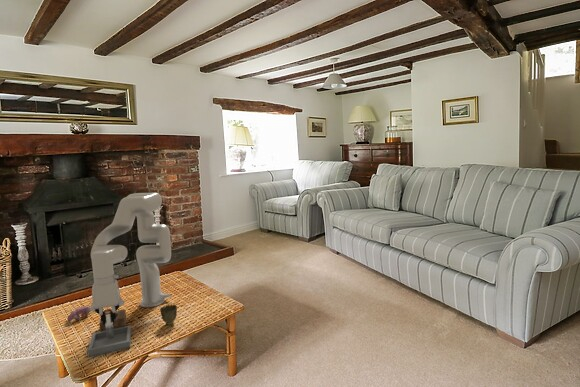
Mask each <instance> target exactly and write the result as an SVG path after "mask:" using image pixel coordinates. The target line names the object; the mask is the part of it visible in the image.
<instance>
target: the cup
mask: <svg viewBox="0 0 580 387" xmlns="http://www.w3.org/2000/svg"><path fill="white" fill-rule="evenodd" d="M159 311H160V316H161V318H162V319H161V320H162V321H163V322H164V323H165V325H166V326H171V325H174V323H175V320H176V318H177V315H178V314H177V312H178V306H177V305H175V304H166V305H163V307H160V309H159Z"/></svg>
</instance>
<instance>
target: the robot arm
mask: <svg viewBox="0 0 580 387" xmlns="http://www.w3.org/2000/svg"><path fill="white" fill-rule="evenodd" d="M162 203H163V198H162V196H161V195H160V193H158V192H137V193H130V194H128V195H127V196H126V197H123V198H122V199H121V200H120V201H119V204H118V206H117V210H116V213H115V215H114V218H113V220H112V221H111V224H109V225H108V226H106V227H105V228H104V229H103V230H101V232H100V233H99V234H98V235H97V236H96V238H95V240H94V242H93V244H92V246H91V249H90V250H91V251H90V259H91V266H92V274H93V284H92V288H91V300H92V301H91V302H92V303H91V304H90V306H89V307H90V309H89V310H90V312H94V313H97V315H98V316H100V319H101V322H103V324H105V316H104V308H108V307H111V309H112V313H111V316H112V322H114V320H115V319H116V311H118V310H119V308H121V307H122V306H124V305H125V300H123V299H122V297H121V292H120V286H119V282H118V280H117V279H119V275H118V274H115V271H114V270H115V268H114V265H115V264H118V263H122V262H123V261H125V259H126V258H127V257H128V248H127V247H126V246H124V245H123V244H109V242H111V241H112V240H113V239H115V238H117V237H119V236H121V235H124V234H126V233H127V232H129V231H131V230H132V229H133V225H134V222H135V219H136V221H137V237H138V240H139V242H140V243H145V245H141V246H140V247H138V248H137V249H136V251H135V258H136V261H137V263H138V267H139V268H138V270H139V277H140V288H141V297H142V300H140V302H139V306H140V307H141V308H153V307H157V306H160V305H162V304H163V303H165V301H166V300H165V298H166V299H167V298H171V293H168V292H165V293H164V292H162V288H161V286H162V285H161V277H160V270H159V269H160V268H159V267H158V264H164V263H165V264H166V263H168V262H169V261H170V260H171V258H172V242H171V230H170V228H169V227H168V225H166V224H157V223H156V222H155V214H154V212H155V211H157V210H158V209H160V207H161V205H162ZM147 243H149V244H147ZM150 243H153V244H150ZM154 243H155V244H154ZM157 243H158V244H157Z"/></svg>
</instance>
